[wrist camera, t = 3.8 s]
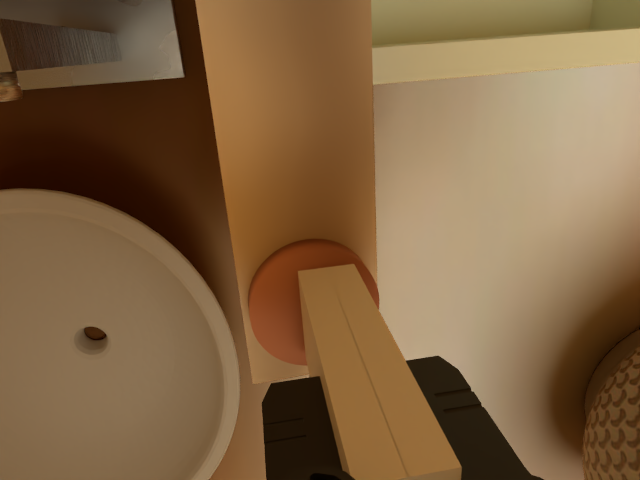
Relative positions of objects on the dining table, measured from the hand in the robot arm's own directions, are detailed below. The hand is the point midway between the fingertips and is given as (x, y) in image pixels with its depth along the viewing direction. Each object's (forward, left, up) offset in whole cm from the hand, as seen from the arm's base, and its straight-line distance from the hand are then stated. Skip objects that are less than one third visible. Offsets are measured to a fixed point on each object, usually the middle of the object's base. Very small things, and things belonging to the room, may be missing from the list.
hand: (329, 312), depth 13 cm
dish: (-10, -6, -12) cm, 17 cm away
